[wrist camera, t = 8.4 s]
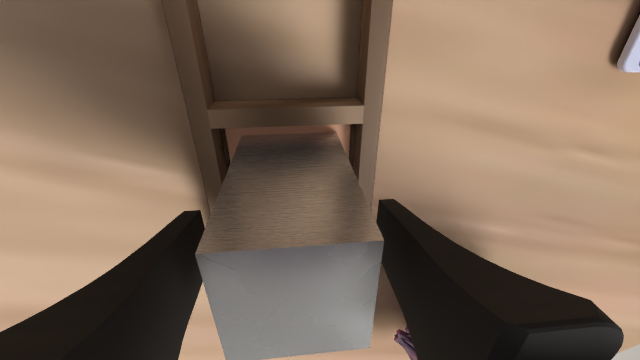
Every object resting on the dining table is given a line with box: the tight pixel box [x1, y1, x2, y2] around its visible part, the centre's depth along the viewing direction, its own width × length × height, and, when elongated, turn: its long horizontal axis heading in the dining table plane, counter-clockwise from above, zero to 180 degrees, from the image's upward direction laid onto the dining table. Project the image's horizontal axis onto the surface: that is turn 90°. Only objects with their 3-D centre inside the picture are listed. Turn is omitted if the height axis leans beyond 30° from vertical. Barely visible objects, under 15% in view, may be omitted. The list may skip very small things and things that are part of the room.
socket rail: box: [162, 0, 393, 213], centre depth 11 cm, size 8×23×2 cm, turn 0°
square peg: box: [195, 132, 384, 360], centre depth 12 cm, size 5×5×8 cm
